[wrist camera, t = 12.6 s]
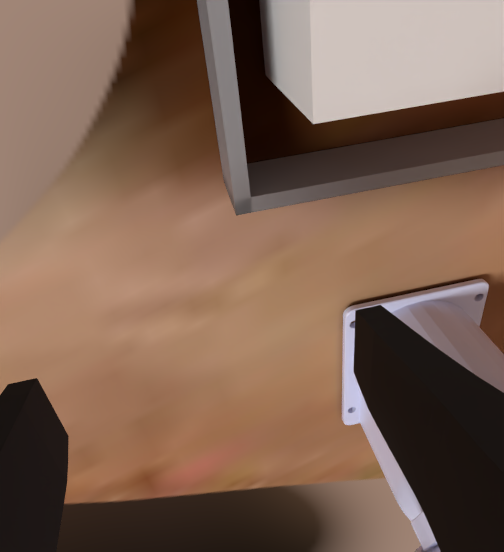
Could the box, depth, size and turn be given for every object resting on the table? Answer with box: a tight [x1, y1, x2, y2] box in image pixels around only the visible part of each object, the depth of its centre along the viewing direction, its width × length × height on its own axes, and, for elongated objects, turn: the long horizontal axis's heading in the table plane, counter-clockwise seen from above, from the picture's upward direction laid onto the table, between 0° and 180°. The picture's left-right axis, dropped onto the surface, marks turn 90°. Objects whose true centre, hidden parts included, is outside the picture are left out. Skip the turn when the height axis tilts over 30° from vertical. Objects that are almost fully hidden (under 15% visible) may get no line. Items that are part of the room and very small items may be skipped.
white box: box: [259, 0, 504, 124], centre depth 14 cm, size 4×6×6 cm
